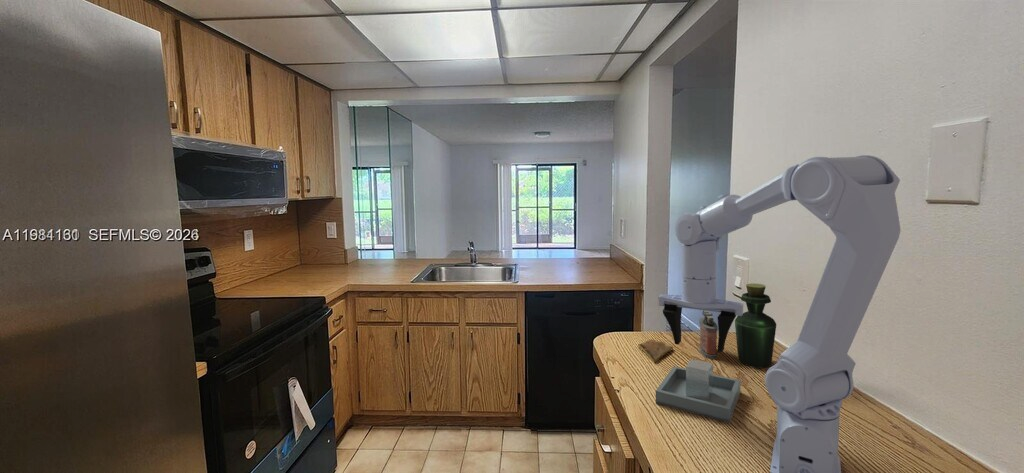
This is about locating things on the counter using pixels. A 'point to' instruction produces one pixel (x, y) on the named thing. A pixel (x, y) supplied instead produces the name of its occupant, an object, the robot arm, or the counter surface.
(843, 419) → the counter surface
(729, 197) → the robot arm
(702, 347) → the lighter
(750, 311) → the potion bottle
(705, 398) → the aluminium block
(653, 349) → the shard
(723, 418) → the tray
